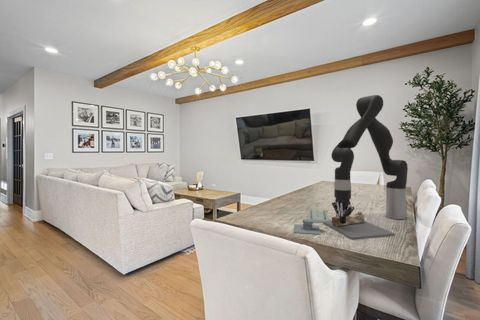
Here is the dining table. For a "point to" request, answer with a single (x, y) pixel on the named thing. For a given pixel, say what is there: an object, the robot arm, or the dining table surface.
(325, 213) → the metal bracket
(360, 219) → the brass latch lever
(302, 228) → the shower valve
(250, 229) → the dining table surface
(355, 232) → the base plate
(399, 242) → the dining table surface
